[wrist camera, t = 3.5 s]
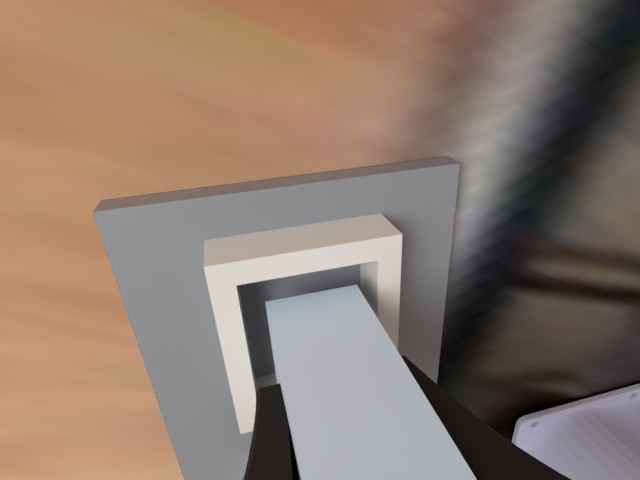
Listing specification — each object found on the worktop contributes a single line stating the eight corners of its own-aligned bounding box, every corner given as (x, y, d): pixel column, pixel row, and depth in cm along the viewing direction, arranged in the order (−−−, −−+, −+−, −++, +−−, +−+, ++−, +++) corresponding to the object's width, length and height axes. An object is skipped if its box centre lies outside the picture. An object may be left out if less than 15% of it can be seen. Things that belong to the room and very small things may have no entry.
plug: (356, 284, 13) (532, 568, 6) (358, 375, 15) (493, 676, 8) (265, 301, 12) (334, 640, 5) (278, 393, 14) (344, 738, 7)
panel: (445, 156, 15) (460, 163, 14) (415, 493, 24) (423, 510, 23) (101, 200, 12) (92, 212, 11) (216, 554, 22) (217, 575, 21)
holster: (380, 213, 14) (402, 234, 12) (378, 363, 17) (395, 395, 15) (204, 240, 13) (203, 267, 11) (237, 396, 16) (240, 434, 14)
